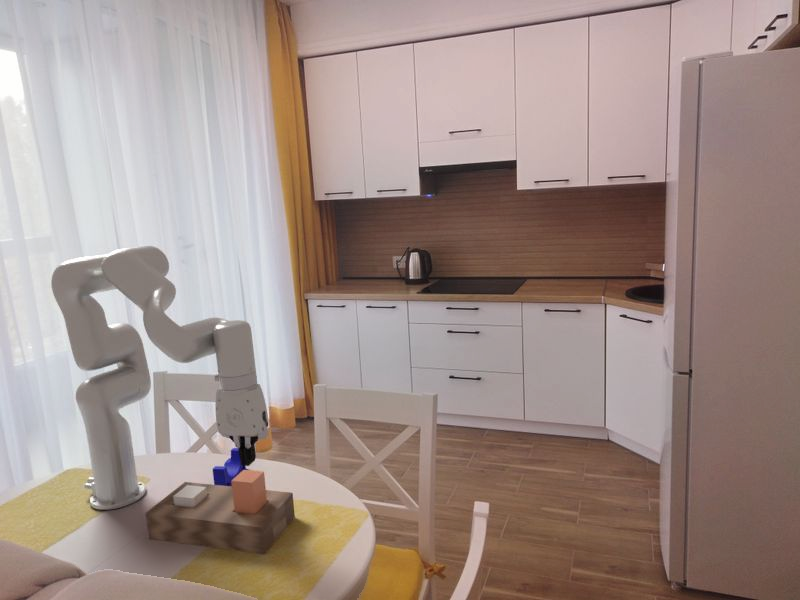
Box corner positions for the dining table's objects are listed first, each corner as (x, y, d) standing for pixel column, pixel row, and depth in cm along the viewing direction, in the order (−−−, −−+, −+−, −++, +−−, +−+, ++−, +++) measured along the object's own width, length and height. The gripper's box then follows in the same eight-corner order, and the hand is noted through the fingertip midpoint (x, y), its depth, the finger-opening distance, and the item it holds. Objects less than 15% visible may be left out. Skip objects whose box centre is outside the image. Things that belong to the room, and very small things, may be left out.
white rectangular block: (177, 527, 131) (173, 496, 130) (190, 515, 136) (187, 485, 134) (196, 529, 130) (193, 498, 128) (209, 517, 134) (206, 487, 133)
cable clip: (230, 468, 160) (227, 447, 158) (245, 469, 159) (243, 448, 158) (209, 490, 148) (206, 468, 147) (226, 491, 147) (223, 469, 146)
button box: (148, 538, 128) (145, 513, 127) (188, 505, 141) (185, 481, 140) (264, 554, 120) (262, 527, 119) (294, 517, 134) (292, 492, 132)
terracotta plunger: (234, 513, 126) (231, 480, 125) (246, 501, 131) (243, 469, 129) (255, 515, 125) (252, 482, 123) (267, 503, 129) (264, 471, 128)
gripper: (196, 385, 121) (207, 469, 124) (261, 387, 117) (271, 473, 120) (216, 374, 128) (227, 453, 131) (279, 375, 124) (288, 457, 127)
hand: (248, 462), depth 126 cm, fingers closed
